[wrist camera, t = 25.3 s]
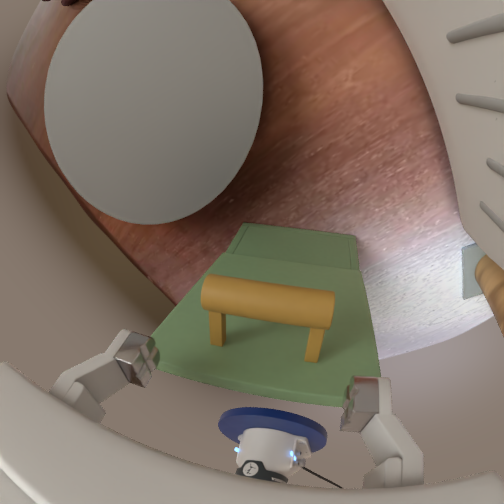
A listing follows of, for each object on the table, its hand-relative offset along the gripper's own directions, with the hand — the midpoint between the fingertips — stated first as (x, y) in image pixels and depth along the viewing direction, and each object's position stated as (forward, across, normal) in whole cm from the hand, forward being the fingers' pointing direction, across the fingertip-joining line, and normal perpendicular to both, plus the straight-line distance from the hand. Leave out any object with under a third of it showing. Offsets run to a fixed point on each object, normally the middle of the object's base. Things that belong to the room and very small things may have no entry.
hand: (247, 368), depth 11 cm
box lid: (+7, 0, +4) cm, 9 cm away
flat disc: (+22, +17, -10) cm, 30 cm away
